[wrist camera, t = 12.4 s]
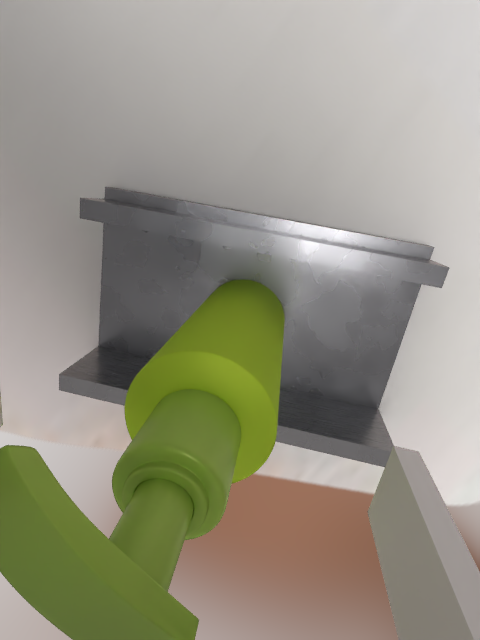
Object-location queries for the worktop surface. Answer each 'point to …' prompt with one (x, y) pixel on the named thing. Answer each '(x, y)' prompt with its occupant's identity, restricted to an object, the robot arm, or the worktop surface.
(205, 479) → the soap dispenser
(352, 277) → the track
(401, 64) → the worktop surface
